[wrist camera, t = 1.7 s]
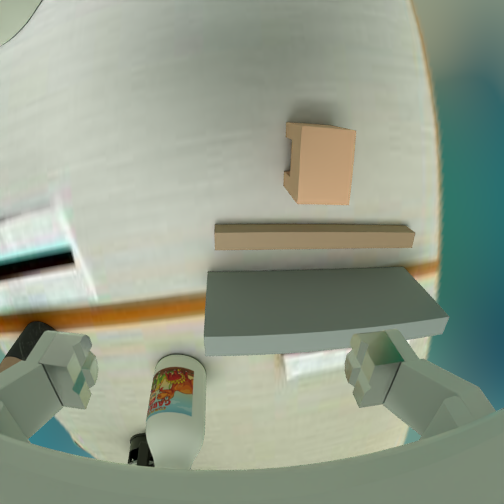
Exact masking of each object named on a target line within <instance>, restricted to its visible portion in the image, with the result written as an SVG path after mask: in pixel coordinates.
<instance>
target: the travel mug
mask: <svg viewBox="0 0 504 504" xmlns="http://www.w3.org/2000/svg"><path fill="white" fill-rule="evenodd" d="M48 330H49V331H55V330H54V329H53V328H51V327H50V326H48V325H47V324H45V323H42V322H31V323H30V324H28V326H27V327H26V328H25V329H24V331H23V332H22V333H21V335H20V336H19V338H18V339H17V340H16V342H15V343H14V345H13V346H12V347H11V349H10V350H9V352H8V353H7V355H6V356H5V358H4V359H3V361H2V362H1V364H0V373H1V372H3V371H4V370H6V369H8V368H9V367H11V366H13V365H15V364H16V363H18V362H20V361H26V359H27V357H28V356H29V354H30V353H31V351H32V350H33V348H34V347H35V345H36V343H37V342H38V340H39V339H40V337H41V336H42V334H43V333H44V332H45V331H48Z"/></svg>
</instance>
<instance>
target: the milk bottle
mask: <svg viewBox="0 0 504 504" xmlns="http://www.w3.org/2000/svg"><path fill="white" fill-rule="evenodd" d="M205 410H206V372H205V369H204V367H203V366H202V365H201V363H199V362H198V361H197V360H195V359H194V358H191V357H189V356H185V355H170V356H167V357H165V358H163V359H162V360H161V361H159V362H158V364H157V365H156V368H155V373H154V378H153V383H152V389H151V394H150V400H149V406H148V413H147V420H146V438H147V442H148V445H149V448H150V451H151V453H152V456H153V460H154V465H155V467H157V468H169V469H186V470H190V469H191V466H192V463H193V461H194V459H195V458H196V456H197V455H198V453H199V451H200V449H201V447H202V444H203V441H204V435H205Z"/></svg>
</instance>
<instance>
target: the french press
mask: <svg viewBox="0 0 504 504" xmlns="http://www.w3.org/2000/svg"><path fill="white" fill-rule="evenodd" d="M130 444H131V446H130V452H129V459H128V464H129V465H137V466H146V467H155V465H154V460H153V456H152V453H150V452H151V451H150V448H149V445H148V442H147V438H146V434H137V435H134V436H133V437H132V438H131V439H130ZM132 459H133V461H132Z"/></svg>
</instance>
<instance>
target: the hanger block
mask: <svg viewBox="0 0 504 504" xmlns="http://www.w3.org/2000/svg"><path fill="white" fill-rule="evenodd" d="M286 137H287V138H289V139H291V140H292V148H291V168H290V171H284V185H283V186H284V187H285V188H286V190H287V191H288V192H289V194H290V195H291V196H292V198H293V199H294V200H295V202H296V203H297V204H325V205H349V200H350V192H351V182H352V173H353V162H354V151H355V139H356V131H355V130H351V129H346V128H341V127H336V126H331V125H320V124H306V123H290V122H286Z"/></svg>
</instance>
